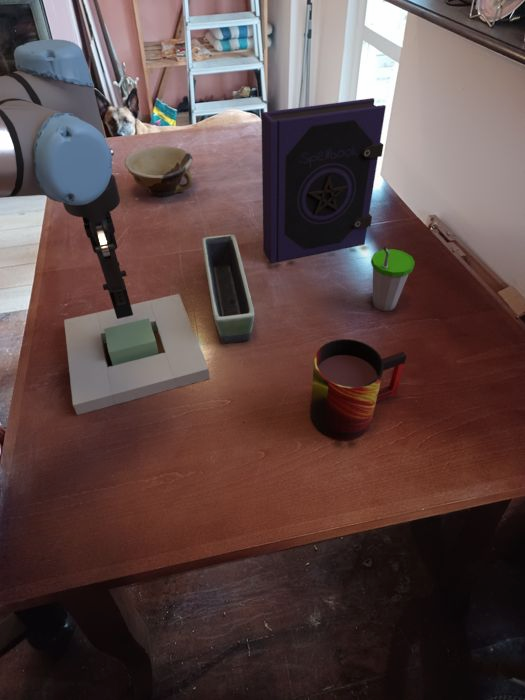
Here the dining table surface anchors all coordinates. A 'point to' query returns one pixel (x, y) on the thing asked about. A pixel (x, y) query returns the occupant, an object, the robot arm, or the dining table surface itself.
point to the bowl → (161, 169)
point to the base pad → (139, 375)
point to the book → (318, 176)
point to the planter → (228, 288)
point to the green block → (131, 341)
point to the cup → (389, 276)
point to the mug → (349, 387)
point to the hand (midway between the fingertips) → (124, 314)
